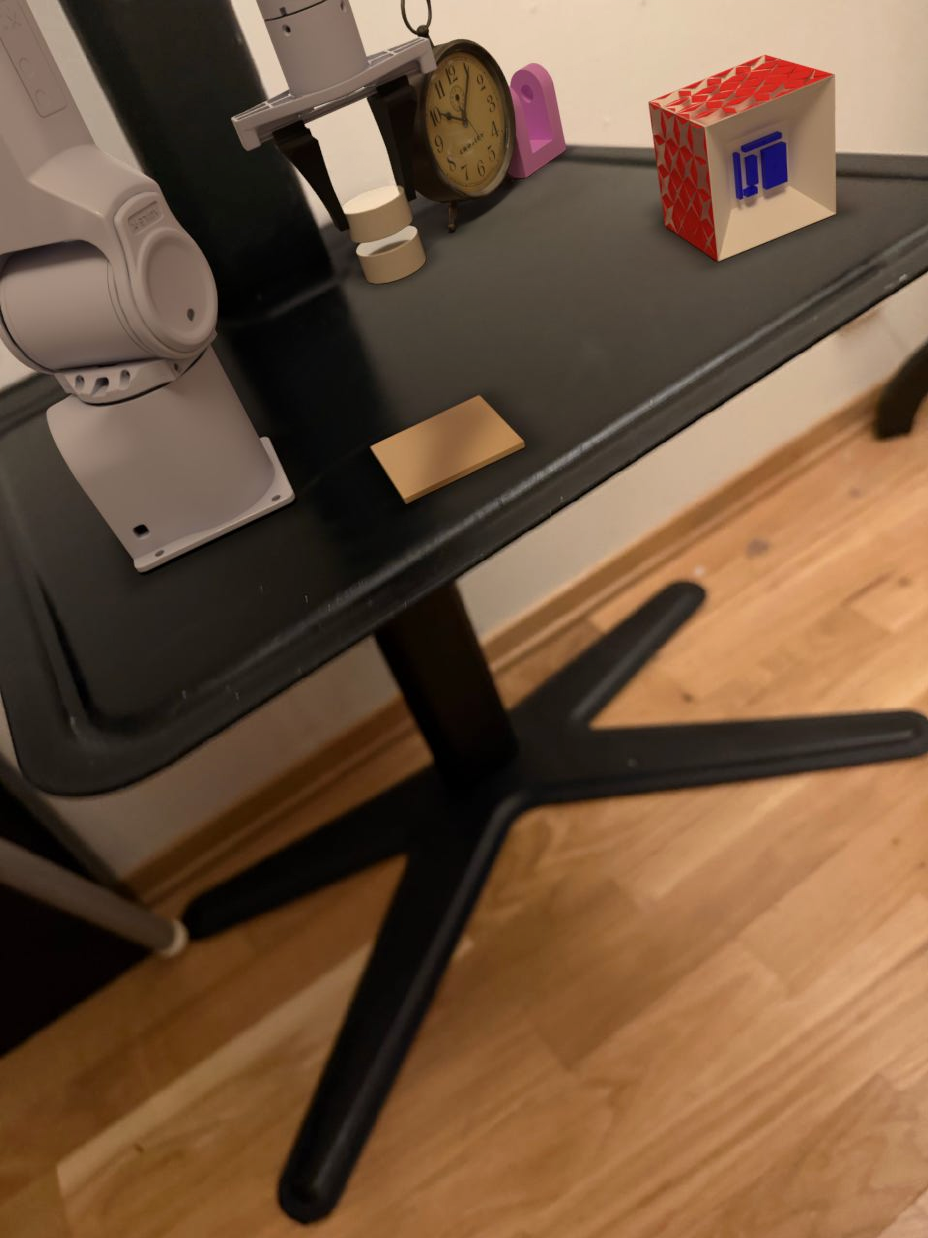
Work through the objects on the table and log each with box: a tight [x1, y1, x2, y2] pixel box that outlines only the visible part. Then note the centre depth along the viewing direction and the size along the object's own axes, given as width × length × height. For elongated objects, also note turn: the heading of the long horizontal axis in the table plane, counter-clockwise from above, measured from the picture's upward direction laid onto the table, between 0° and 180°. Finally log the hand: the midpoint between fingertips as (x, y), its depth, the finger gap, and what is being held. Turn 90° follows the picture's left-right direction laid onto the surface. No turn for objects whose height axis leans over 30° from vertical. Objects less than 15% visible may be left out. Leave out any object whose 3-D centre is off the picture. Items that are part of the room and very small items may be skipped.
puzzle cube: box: [647, 54, 837, 262], centre depth 56 cm, size 8×8×8 cm
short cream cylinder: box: [341, 184, 414, 244], centre depth 67 cm, size 5×5×2 cm
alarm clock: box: [400, 0, 516, 232], centre depth 70 cm, size 11×5×16 cm, turn 142°
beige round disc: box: [355, 225, 427, 285], centre depth 70 cm, size 5×5×2 cm
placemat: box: [369, 394, 526, 505], centre depth 49 cm, size 7×6×1 cm
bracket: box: [508, 62, 567, 179], centre depth 79 cm, size 13×6×7 cm, turn 46°
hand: (376, 212), depth 67 cm, fingers closed on short cream cylinder, 5 cm apart
